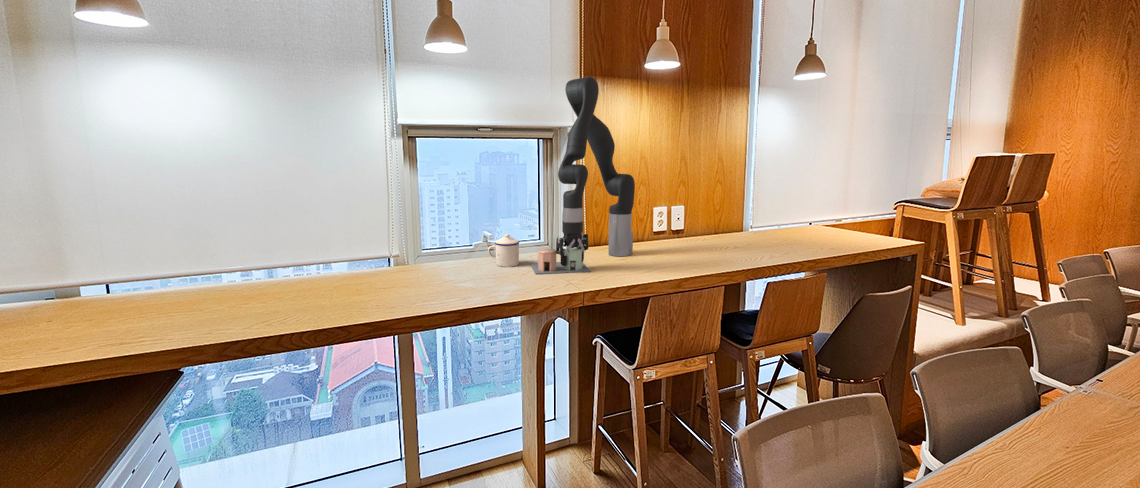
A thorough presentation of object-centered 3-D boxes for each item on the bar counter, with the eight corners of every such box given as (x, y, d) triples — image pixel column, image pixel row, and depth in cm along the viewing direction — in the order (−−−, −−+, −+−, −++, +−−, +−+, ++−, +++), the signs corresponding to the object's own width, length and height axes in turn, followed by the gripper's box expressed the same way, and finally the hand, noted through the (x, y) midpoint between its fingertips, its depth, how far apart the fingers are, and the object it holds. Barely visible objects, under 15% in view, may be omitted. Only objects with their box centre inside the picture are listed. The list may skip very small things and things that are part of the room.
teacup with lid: (521, 262, 213) (521, 232, 211) (517, 267, 204) (516, 236, 202) (491, 261, 214) (490, 232, 212) (485, 266, 205) (484, 236, 203)
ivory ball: (573, 266, 204) (573, 259, 203) (578, 268, 201) (578, 260, 201) (567, 268, 202) (567, 260, 201) (572, 269, 200) (572, 261, 199)
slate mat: (581, 262, 213) (581, 261, 213) (590, 271, 198) (590, 270, 198) (530, 264, 210) (530, 263, 210) (535, 274, 194) (535, 273, 194)
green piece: (573, 265, 206) (573, 247, 205) (585, 268, 202) (585, 249, 200) (560, 268, 202) (560, 249, 200) (572, 271, 197) (572, 252, 196)
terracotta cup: (548, 266, 204) (548, 248, 203) (559, 269, 200) (559, 250, 198) (534, 269, 200) (534, 250, 199) (546, 272, 195) (546, 253, 194)
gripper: (579, 217, 206) (578, 259, 209) (551, 220, 196) (551, 264, 199) (593, 219, 201) (593, 262, 204) (565, 223, 191) (565, 268, 194)
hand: (572, 263), depth 201 cm, fingers open, 8 cm apart
